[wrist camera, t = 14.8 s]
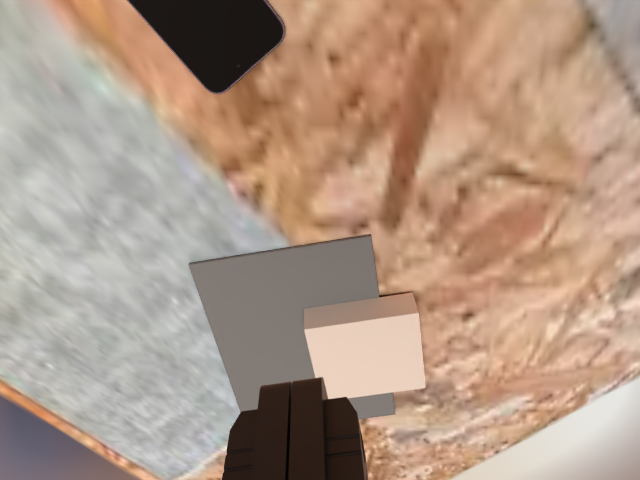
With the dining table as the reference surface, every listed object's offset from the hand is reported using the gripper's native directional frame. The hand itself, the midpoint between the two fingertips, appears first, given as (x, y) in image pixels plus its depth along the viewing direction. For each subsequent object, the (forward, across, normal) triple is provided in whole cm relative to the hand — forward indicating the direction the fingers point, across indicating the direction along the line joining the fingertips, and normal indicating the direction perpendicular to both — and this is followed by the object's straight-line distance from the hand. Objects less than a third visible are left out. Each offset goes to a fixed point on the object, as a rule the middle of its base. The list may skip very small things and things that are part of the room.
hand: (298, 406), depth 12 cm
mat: (+29, +4, +23) cm, 37 cm away
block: (+27, -6, +23) cm, 36 cm away
